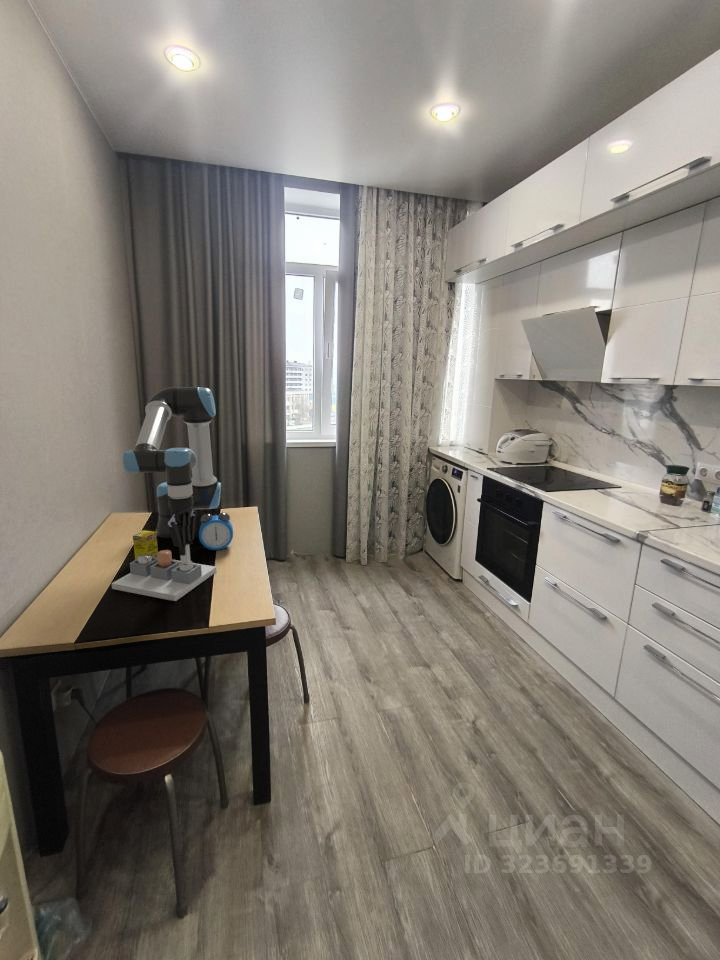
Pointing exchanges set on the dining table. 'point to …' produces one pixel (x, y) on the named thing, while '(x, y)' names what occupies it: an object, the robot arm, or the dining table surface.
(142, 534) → the supplement box
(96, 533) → the dining table surface
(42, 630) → the dining table surface
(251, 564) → the dining table surface
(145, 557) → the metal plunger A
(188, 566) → the silver egg
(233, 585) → the dining table surface
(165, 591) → the button board
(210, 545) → the alarm clock
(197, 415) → the robot arm
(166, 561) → the brown egg
